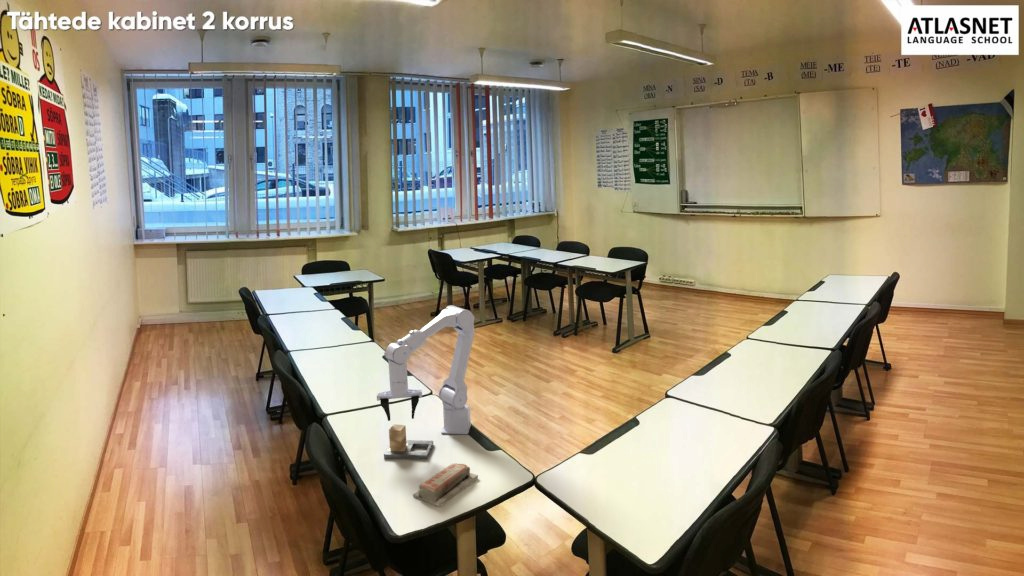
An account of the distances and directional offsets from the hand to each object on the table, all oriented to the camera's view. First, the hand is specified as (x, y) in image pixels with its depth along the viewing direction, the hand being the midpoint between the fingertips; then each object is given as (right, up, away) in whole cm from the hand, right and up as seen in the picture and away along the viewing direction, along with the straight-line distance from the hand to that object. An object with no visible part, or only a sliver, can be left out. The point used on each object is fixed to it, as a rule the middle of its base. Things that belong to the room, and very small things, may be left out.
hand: (401, 418), depth 196 cm
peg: (-1, -9, -1) cm, 9 cm away
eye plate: (+3, -11, -1) cm, 11 cm away
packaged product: (+17, -16, -22) cm, 32 cm away
